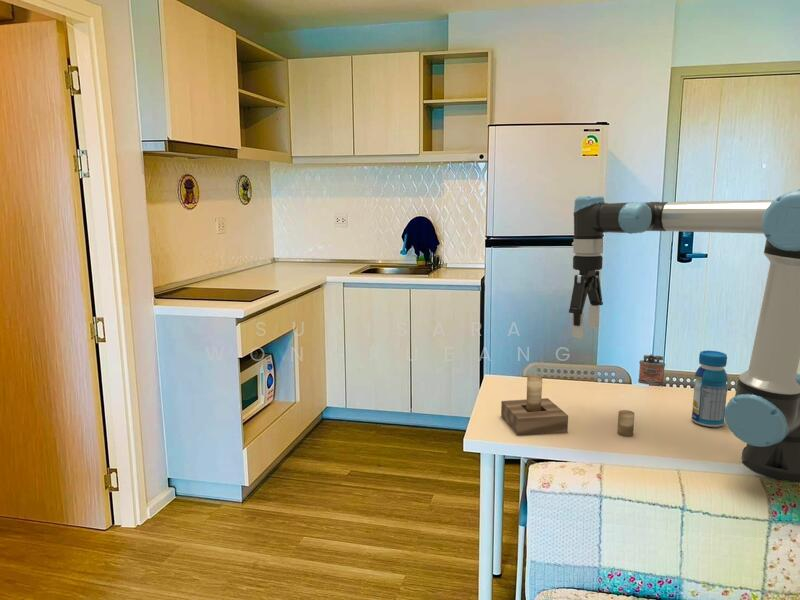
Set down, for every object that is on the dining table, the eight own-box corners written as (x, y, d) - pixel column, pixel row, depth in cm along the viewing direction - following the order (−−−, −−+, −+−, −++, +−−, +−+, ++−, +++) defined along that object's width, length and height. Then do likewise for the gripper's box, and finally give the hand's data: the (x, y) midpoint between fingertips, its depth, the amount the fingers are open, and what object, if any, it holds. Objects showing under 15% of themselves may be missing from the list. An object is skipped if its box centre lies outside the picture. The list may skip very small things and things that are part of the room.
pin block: (567, 433, 159) (568, 415, 158) (517, 436, 157) (518, 418, 156) (547, 414, 173) (547, 398, 172) (501, 417, 171) (501, 400, 170)
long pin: (542, 427, 163) (544, 378, 161) (528, 428, 162) (530, 379, 160) (537, 421, 167) (538, 374, 165) (523, 422, 166) (525, 375, 164)
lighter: (637, 383, 201) (639, 354, 199) (638, 380, 204) (640, 352, 202) (663, 386, 197) (665, 357, 196) (664, 383, 200) (666, 355, 199)
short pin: (636, 436, 157) (637, 414, 156) (622, 437, 156) (623, 415, 155) (628, 430, 160) (629, 409, 159) (614, 431, 160) (615, 410, 159)
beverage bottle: (711, 430, 160) (717, 358, 157) (684, 419, 168) (689, 351, 164) (731, 424, 164) (737, 354, 161) (703, 414, 172) (709, 348, 168)
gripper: (588, 251, 169) (586, 323, 172) (557, 258, 149) (556, 340, 152) (615, 251, 165) (612, 326, 168) (587, 258, 145) (585, 343, 148)
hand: (585, 333), depth 160 cm, fingers open, 13 cm apart
